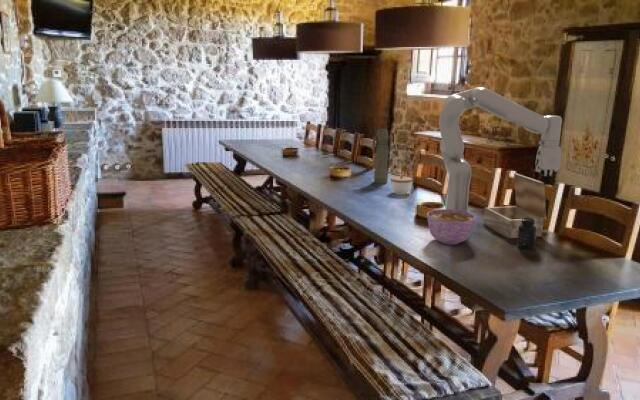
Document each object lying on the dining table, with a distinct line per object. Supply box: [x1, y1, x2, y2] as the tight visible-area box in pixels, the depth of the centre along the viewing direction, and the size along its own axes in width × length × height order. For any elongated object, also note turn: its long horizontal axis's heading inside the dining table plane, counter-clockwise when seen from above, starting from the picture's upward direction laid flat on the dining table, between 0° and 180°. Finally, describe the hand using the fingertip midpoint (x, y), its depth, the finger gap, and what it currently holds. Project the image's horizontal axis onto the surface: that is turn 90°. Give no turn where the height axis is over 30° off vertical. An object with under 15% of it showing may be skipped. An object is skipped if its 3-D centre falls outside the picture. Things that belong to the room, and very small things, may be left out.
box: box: [483, 205, 545, 239], centre depth 229 cm, size 16×22×8 cm
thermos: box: [372, 128, 392, 185], centre depth 327 cm, size 9×12×35 cm
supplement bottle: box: [516, 218, 537, 250], centre depth 205 cm, size 7×7×12 cm
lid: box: [513, 173, 547, 219], centre depth 227 cm, size 16×22×1 cm
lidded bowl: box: [390, 174, 413, 196], centre depth 299 cm, size 13×13×11 cm
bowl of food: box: [426, 208, 477, 245], centre depth 212 cm, size 20×20×12 cm
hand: (545, 184), depth 227 cm, fingers closed
